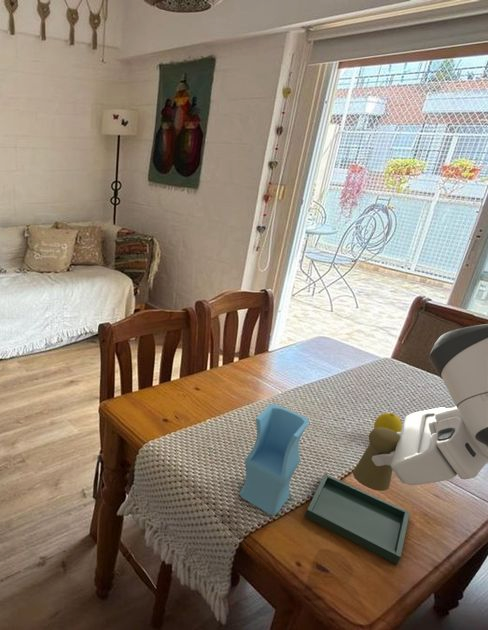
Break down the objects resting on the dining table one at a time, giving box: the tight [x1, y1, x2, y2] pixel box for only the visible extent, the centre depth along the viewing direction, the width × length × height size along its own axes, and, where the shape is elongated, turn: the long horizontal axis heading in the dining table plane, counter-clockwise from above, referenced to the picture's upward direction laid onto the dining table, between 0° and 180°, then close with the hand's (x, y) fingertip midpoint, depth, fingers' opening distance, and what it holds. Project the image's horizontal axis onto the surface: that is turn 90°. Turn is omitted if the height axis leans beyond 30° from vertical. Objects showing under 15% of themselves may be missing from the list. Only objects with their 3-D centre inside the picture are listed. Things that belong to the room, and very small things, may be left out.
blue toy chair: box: [239, 403, 311, 516], centre depth 89 cm, size 8×8×20 cm
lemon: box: [373, 412, 403, 432], centre depth 110 cm, size 6×6×8 cm
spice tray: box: [304, 473, 411, 565], centre depth 88 cm, size 16×14×2 cm
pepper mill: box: [352, 427, 400, 492], centre depth 83 cm, size 6×6×11 cm
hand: (376, 453), depth 83 cm, fingers closed on pepper mill, 4 cm apart
